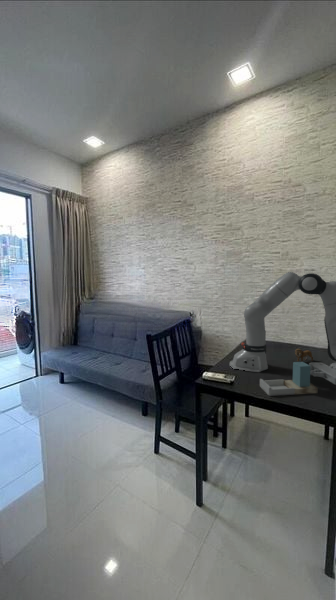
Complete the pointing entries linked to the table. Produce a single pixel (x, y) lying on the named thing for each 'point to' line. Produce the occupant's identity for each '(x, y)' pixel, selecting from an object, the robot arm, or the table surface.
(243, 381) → the table surface
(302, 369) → the teal block
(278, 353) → the table surface
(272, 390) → the box
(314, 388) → the birch plate
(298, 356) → the lion figurine
